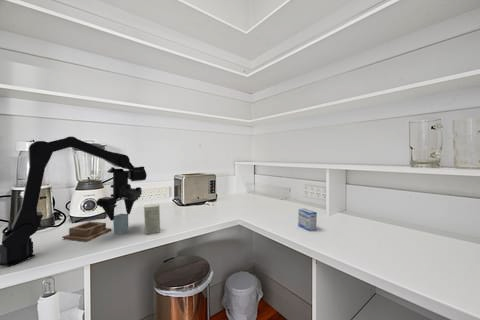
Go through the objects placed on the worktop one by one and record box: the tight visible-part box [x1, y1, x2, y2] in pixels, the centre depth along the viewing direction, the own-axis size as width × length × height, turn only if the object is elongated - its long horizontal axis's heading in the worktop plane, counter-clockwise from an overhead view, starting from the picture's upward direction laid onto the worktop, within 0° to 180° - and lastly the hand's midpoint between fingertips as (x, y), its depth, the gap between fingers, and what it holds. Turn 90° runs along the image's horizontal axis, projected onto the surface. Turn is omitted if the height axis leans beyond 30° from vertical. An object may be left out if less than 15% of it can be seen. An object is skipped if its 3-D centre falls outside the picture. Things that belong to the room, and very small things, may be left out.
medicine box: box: [297, 207, 318, 232], centre depth 95 cm, size 8×4×9 cm, turn 27°
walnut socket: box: [62, 221, 113, 243], centre depth 85 cm, size 12×12×4 cm
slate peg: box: [112, 213, 129, 236], centre depth 87 cm, size 4×4×8 cm
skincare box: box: [143, 203, 161, 235], centre depth 89 cm, size 6×4×12 cm
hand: (120, 217), depth 87 cm, fingers open, 9 cm apart
